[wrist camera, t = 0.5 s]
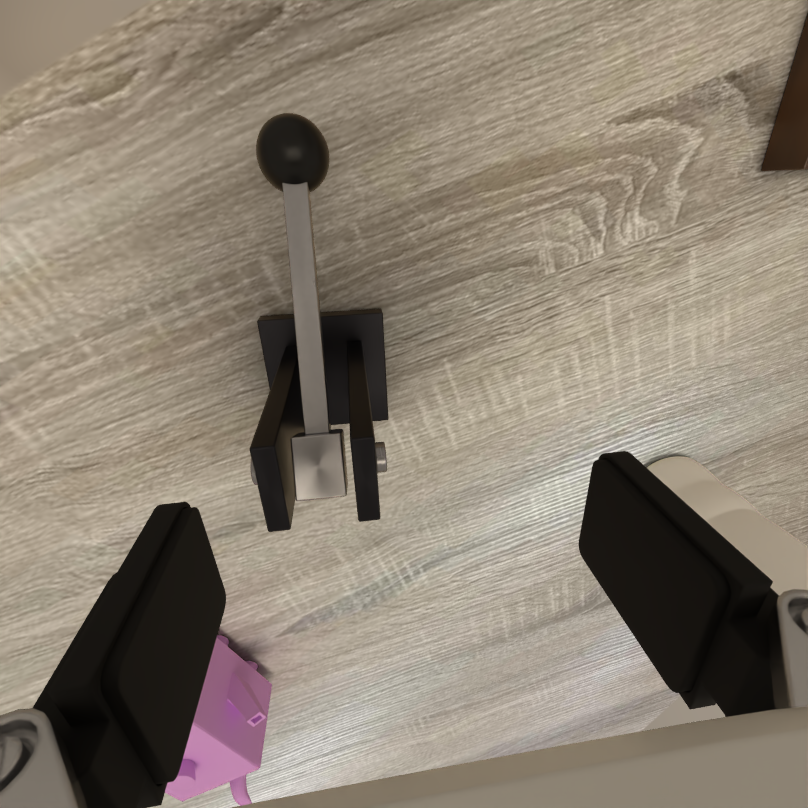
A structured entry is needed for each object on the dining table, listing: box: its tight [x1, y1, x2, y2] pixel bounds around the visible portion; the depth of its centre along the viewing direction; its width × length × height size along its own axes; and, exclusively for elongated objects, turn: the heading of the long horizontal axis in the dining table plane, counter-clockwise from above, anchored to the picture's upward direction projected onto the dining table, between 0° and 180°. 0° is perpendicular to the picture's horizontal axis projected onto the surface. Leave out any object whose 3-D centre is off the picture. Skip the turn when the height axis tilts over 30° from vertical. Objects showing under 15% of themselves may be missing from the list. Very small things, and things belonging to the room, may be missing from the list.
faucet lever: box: [256, 113, 348, 501], centre depth 20 cm, size 17×3×3 cm, turn 1°
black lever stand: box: [250, 309, 388, 532], centre depth 24 cm, size 8×8×14 cm
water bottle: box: [647, 456, 808, 596], centre depth 29 cm, size 7×7×25 cm
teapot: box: [165, 635, 272, 806], centre depth 38 cm, size 18×13×10 cm
